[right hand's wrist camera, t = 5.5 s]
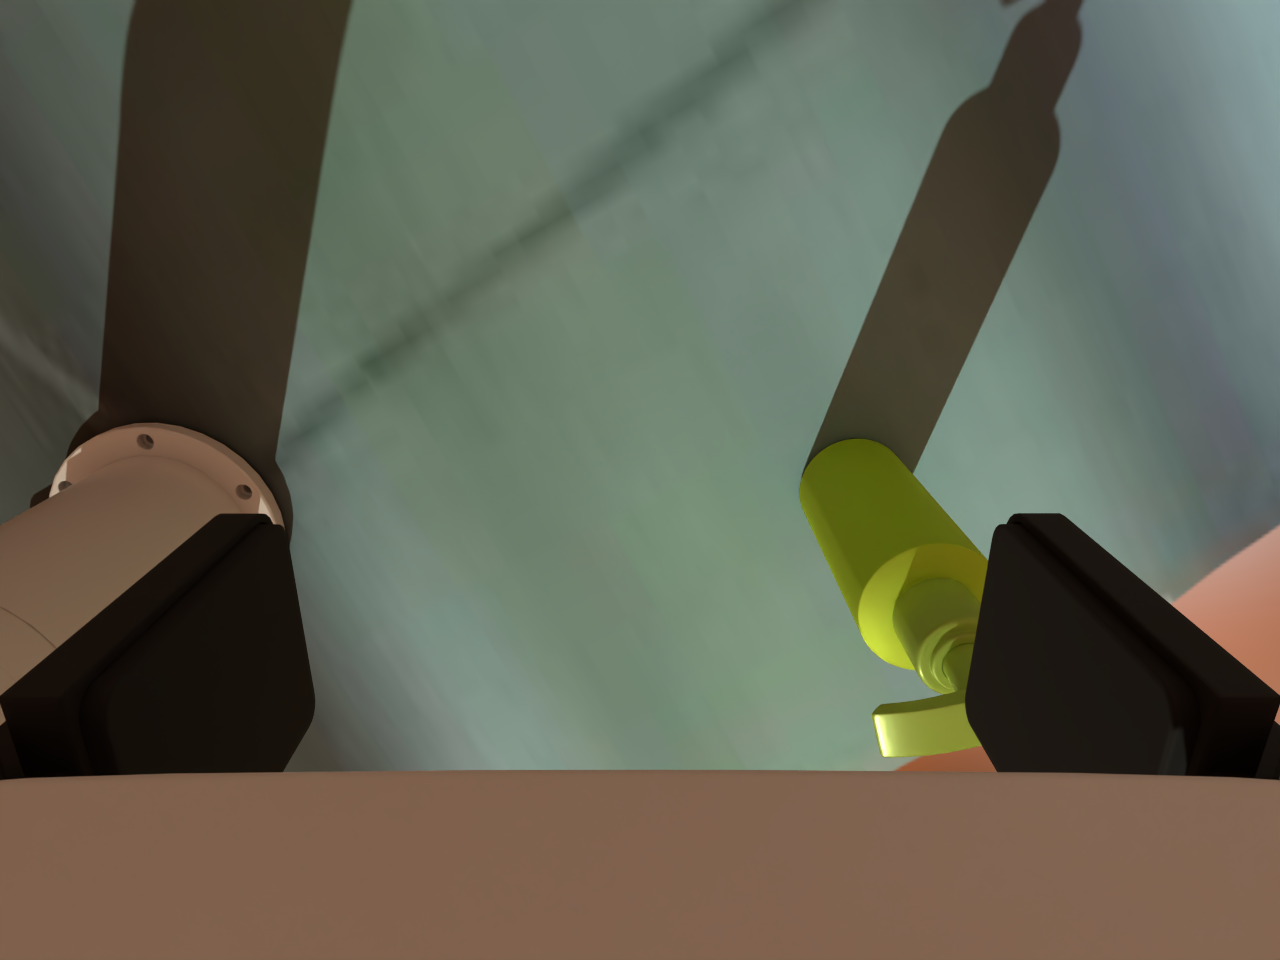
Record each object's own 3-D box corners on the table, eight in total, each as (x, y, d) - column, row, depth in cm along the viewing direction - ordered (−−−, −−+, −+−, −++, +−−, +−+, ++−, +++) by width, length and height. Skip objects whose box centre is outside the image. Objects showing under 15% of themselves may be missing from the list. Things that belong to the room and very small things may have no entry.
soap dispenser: (770, 459, 45) (863, 673, 26) (895, 425, 44) (1084, 620, 25) (793, 552, 47) (895, 813, 28) (914, 521, 46) (1101, 767, 27)
